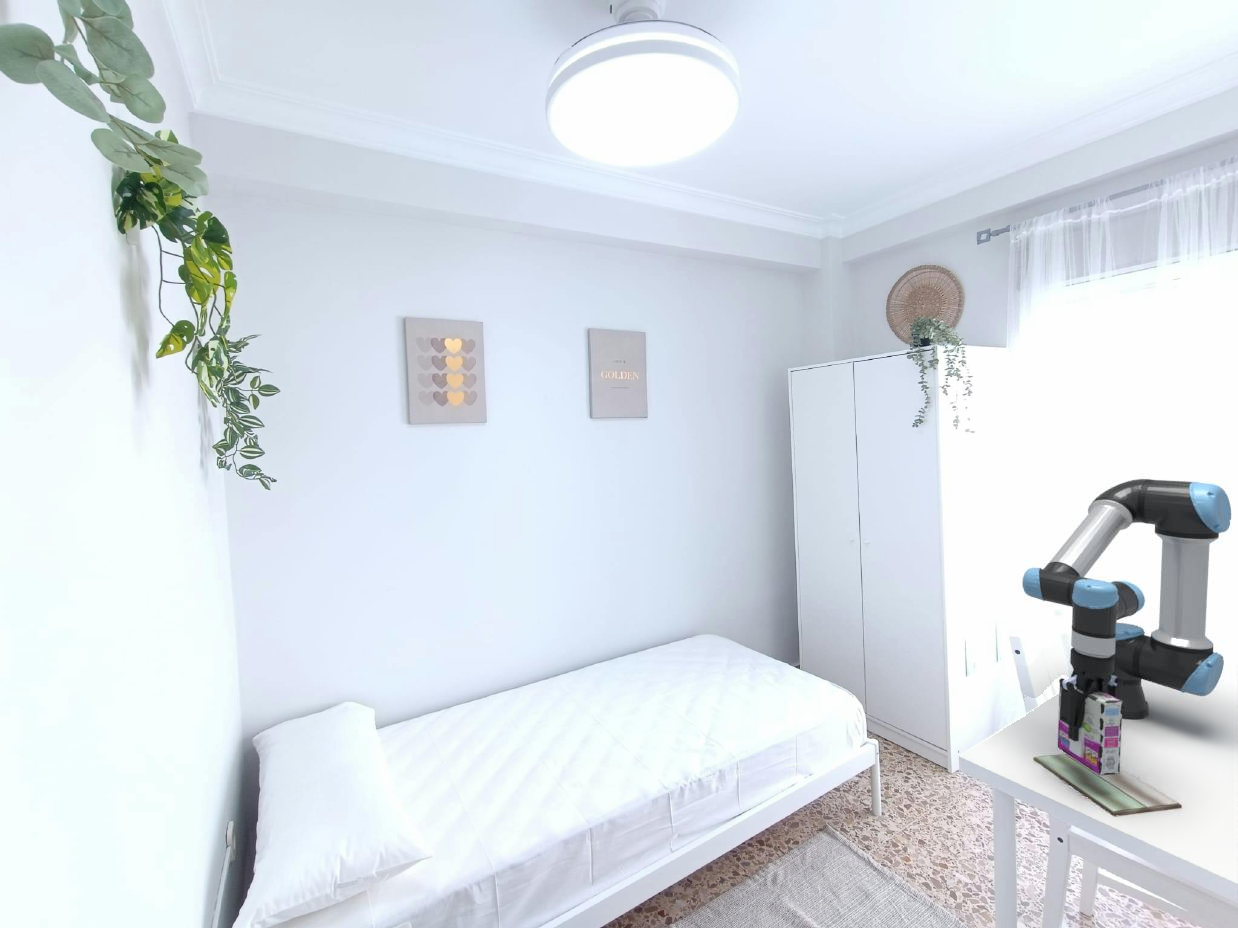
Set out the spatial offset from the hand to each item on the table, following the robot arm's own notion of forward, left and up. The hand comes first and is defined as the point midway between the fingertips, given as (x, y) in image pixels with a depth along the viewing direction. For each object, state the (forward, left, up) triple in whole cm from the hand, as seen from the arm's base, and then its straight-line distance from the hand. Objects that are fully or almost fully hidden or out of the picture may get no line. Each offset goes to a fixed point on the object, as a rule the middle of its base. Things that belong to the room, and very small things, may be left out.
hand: (1087, 752), depth 129 cm
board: (-4, 0, -7) cm, 9 cm away
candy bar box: (0, 0, -2) cm, 2 cm away
